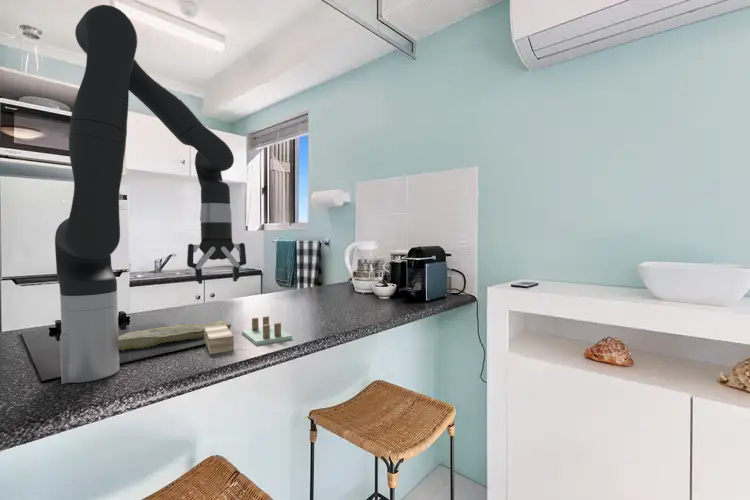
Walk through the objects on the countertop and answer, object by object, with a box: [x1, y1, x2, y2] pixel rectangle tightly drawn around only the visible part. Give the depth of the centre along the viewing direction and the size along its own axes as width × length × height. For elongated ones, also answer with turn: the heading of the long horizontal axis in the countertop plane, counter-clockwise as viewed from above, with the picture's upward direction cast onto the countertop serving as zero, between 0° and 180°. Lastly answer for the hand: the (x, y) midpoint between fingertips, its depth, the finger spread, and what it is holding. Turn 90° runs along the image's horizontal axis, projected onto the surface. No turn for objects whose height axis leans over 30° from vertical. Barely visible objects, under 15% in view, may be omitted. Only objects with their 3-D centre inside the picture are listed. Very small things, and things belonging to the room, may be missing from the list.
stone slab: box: [118, 320, 232, 351], centre depth 102 cm, size 12×4×30 cm
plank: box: [203, 324, 235, 355], centre depth 96 cm, size 14×6×4 cm, turn 31°
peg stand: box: [241, 315, 293, 346], centre depth 104 cm, size 14×10×4 cm
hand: (218, 282), depth 96 cm, fingers open, 8 cm apart
